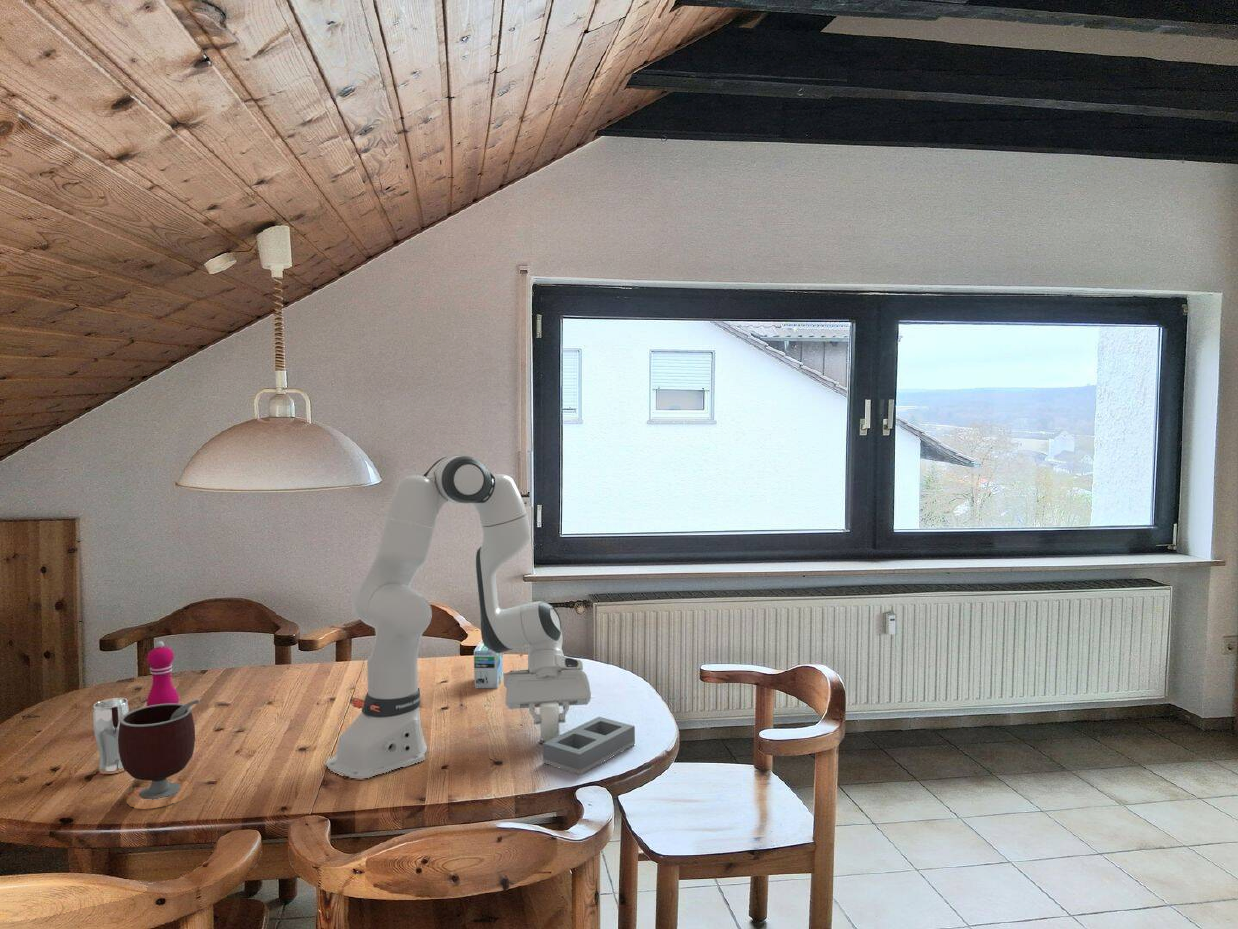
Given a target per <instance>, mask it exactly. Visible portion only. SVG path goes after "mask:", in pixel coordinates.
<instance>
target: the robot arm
mask: <svg viewBox="0 0 1238 929" xmlns="http://www.w3.org/2000/svg"><path fill="white" fill-rule="evenodd" d="M448 502H450V503H453V504H472V505H473V506H474V507H475V509H476V512H477V514H478V516H479V520H480V525H481V527H482V532H483V534H482V535H483V536H482V537H483V539H482V544H481V546H480V547H479V548H478V549H477V550H476V556H475V571H476V572H475V573H476V584H477V592H478V593H477V594H478V601H479V611H480V612H479V614H480V636H481V639H482V640H481V641H483V643H484V645H485V646H486V647H487V648H488V649H490V650H492V651H494V652H496V653H502V652H503V653H505V652H507V651H511V650H513V649H516V648H522V647H528V654H527V669H519V670H509V672H506V673H505V674H504V675H503V685H504V687H505V688H506V689H505V706H506V707H507V708H508V709H509V710H518V709H528V713H529V714H530V716H531V717H532V718H533V725H535V726H536V725H540V723H541V720H540V713H539V714H537V713H536V710H535V709H536V708H540V704H541V703H543V702H557V703H559V707H562V710H563V711H562V712H561V713H560V712H559V724H561V723H562V724H563V723H564V724H565V723H566V715H567V714H568V711H569V709H570V706H583V705H584V706H586V705H588V704H589V703H590V701H591V699H592V698H591V695H592V691H591V686H590V682H589V681H590V680H589V678H588V675H587V673H586V672H585V671H584V664H583V661H582V660H581V659H578V658H573V657H570V656H567V655H565V654H564V652H563V649H562V646H563V641H564V640H563V632H562V631H563V630H562V622H561V618H560V615H559V613H558V611H557V609H556V608H555V607H554V606H552V605H551V604H549V603H548V602H546V601H544V600H538V601H533V602H528V603H524V604H521V605H515V606H514V607H508V608H504V609H503V608H501V607H500V606H499V598H498V588H497V587H498V586H497V573H498V571H499V569H500V568H501V567H503V565H505V564H506V563H507V562H509V561H510V560H512V559H513V558H514V557H516V556H518V555H519V554H520V553H521V552H522V551H523V550H524V549H525V548H526V547H527V545H528V544H529V541H530V538H531V533H532V532H531V525H530V520H529V516H528V512H527V509H526V506H525V503H524V500H523V498H522V496H521V493H520V491H519V489H518V485H516V482H515V480H514V479H513V478H512V477H511V476H509V475H507V474H503V473H495V474H493V473H492V472H490V470H489V469H488V468H487V467H486V466H485V465H484V464H483V463H482V462H481V461H480V460H478V459H477V458H474V457H472V456H467V455H460V454H454V455H450V456H445V457H441V458H440V459H439V460H437V461H435V462H434V463H433V464H432V466H430V468H429V469H428V470H427V471H426V472H425V473H424V474H423V475H420V474H416V475H415V474H413V475H407V476H405V477H403V478H402V479H401V480H400V481H399V483H398V485H397V487H396V489H395V492H394V494H393V496H392V499H391V501H390V505H389V508H388V510H387V514H386V519H385V522H384V525H383V526H384V527H383V530H382V533H381V534H382V535H381V538H380V543H379V546H378V549H377V553H376V555H375V557H374V560H373V562H372V564H371V566H370V568H369V570H368V572H367V574H366V576H365V577H364V579H363V581H361V583H359V584H358V585H357V586H356V588H355V589H354V590H353V593H352V595H351V600H350V602H351V608H352V611H353V612H354V614H355V615H356V616H357V617H358V619H359V620H361V622H362V623H364V624H365V625H367V626H369V627H372V628H373V629H374V631H375V637H374V638H375V639H374V643H373V648H372V651H371V654H370V655H368V657H367V660H366V672H367V673H366V674H367V675H366V676H367V692H366V694H365V697H364V699H360V698H359V697H355V698H354V699H353V701H352V703H351V705H352V707H353V708H356V709H361V712H360V714H358V716H357V717H356V718H355V719H354V721H353V722H352V723H351V724H350V725H349V726H348V727H347V729H345V731H344V732H343V733H342V734H341V735H340V736H339V738H338V740H337V747H336V754H335V755H334V756H332V757H331V758H329V759H326V761H325V766H326V765H327V767H328V768H329V769H330V770H332V771H334V772H335V773H339V774H341V775H345V776H349V777H353V778H361V779H360V780H364V779H363V778H368V777H371V776H374V775H377V774H380V773H384V774H387V773H390V772H392V771H391V770H394V769H397V768H400V767H403V768H406V767H409V766H412V765H415V763H416V764H418V762H419V763H422V762H424V761H426V757H425V755H426V754H425V753H426V752H427V750H428V746H427V743H426V741H425V737H424V733H423V729H422V722H421V715H420V706H421V690H420V688H419V686H418V685H419V680H418V675H419V674H418V672H419V671H418V657H419V656H418V655H419V649H420V644H421V641H422V636H423V634H424V632H426V630H427V629H428V627H429V625H430V624H431V621H432V616H433V611H432V606H431V604H430V602H429V601H428V600H427V598H426V597H425V596H423V595H422V594H421V593H420V592H419V591H417V590H416V589H414V588H411V585H412V582H413V581H414V578H415V577H416V574H417V573H418V572H419V570H420V569H421V568H422V567H424V565H425V564H426V563H427V561H428V558H429V554H430V549H431V545H432V541H433V538H434V537H433V536H434V533H435V529H436V523H437V520H438V519H437V518H438V515H439V512H440V510H441V508H442V507H443V506H444V505H445V504H446V503H448ZM423 760H424V761H423ZM421 761H422V762H421ZM327 767H326V768H327ZM400 769H401V768H400ZM397 770H398V769H397ZM389 771H390V772H389ZM394 771H395V770H394ZM386 772H387V773H386ZM335 773H334V774H335ZM371 778H372V777H371ZM368 779H369V778H368Z"/></svg>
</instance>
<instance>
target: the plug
mask: <svg viewBox="0 0 1238 929" xmlns="http://www.w3.org/2000/svg"><path fill="white" fill-rule="evenodd" d="M559 713H560V706H559V703H557V702H543V703H541V704H540V707H539V714H540V720H541V723H540V724H539V728H540V731H539V732H540V734H539V735H540V736H539V737H540V739H541V740H543V742H547V741H549V740H551V739H553V738H555V737H557V736H559V735H560V723H559Z"/></svg>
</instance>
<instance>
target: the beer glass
mask: <svg viewBox="0 0 1238 929" xmlns="http://www.w3.org/2000/svg"><path fill="white" fill-rule="evenodd" d="M128 712H130V707H129V700H128V699H127V698H126V697H113V698H107V699H103V700H99V701H97V702H95V703H94V704H93V713H92V716H93V717H92V718H93V719H92V722H93V723H92V725H93V731H94V732H93V733H94V736H95V737H94V738H95V742H96V745H97V750H98V753H99V764H98V770H99V769H100V770H102V771H105V772H106V771H115V770H118V769H121V768H123V766H122V763H121V760H120V755H119V750H118V734H119V726H120V718H121V717H122V716H123V715H125V714H126V713H128Z"/></svg>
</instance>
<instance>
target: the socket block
mask: <svg viewBox="0 0 1238 929" xmlns="http://www.w3.org/2000/svg"><path fill="white" fill-rule="evenodd" d="M635 728H636V727H635V725H631V724H629V723H624V722H620V721H616V720H613V719H610V718H609V719H608V718H605V717H603V716H597V717H595V718H593V719H591V720H589V721H588V722H584V723H583V724H581V725H578V726H576V727H574V728H572V729H570V730H568V731H565V732H564V733H562V734H559V736H557V737H555V738H553V739H551V740H549V741H547V742H546V741H544V742H542V764H544V763H546V764H545V765H547V764H549V765H548V766H550V765H552V766H551V767H554V766H555V767H554V768H557V767H560V768H562V769H561V770H563V769H565V770H564V771H566V770H568V771H567V772H569V771H571V772H570V773H573V774H576V773H578V774H577V775H579V774H581V775H582V773H583V774H585V773H586V772H588V771H590V770H591V769H590V768H592V767H594V768H595V767H597V766H599V765H600V764H599V763H601V762H603V761H604V760H606V761H608V760H610V759H611V758H610V757H612V756H613V755H615V754H617V755H619V754H621V753H622V752H621V751H623V750H625V749H626V748H628V749H630V748H632V747H634V746H635V745H636V737H635V736H636V729H635ZM634 744H635V745H634ZM633 745H634V746H633ZM631 746H632V747H631ZM625 751H626V750H625ZM620 752H621V753H620ZM623 752H624V751H623ZM618 753H619V754H618ZM609 758H610V759H609ZM612 758H613V757H612ZM607 759H608V760H607ZM603 763H604V762H603ZM598 764H599V765H598ZM601 764H602V763H601ZM596 765H597V766H596ZM560 768H559V769H560ZM589 769H590V770H589ZM592 769H593V768H592ZM587 770H588V771H587Z"/></svg>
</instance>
